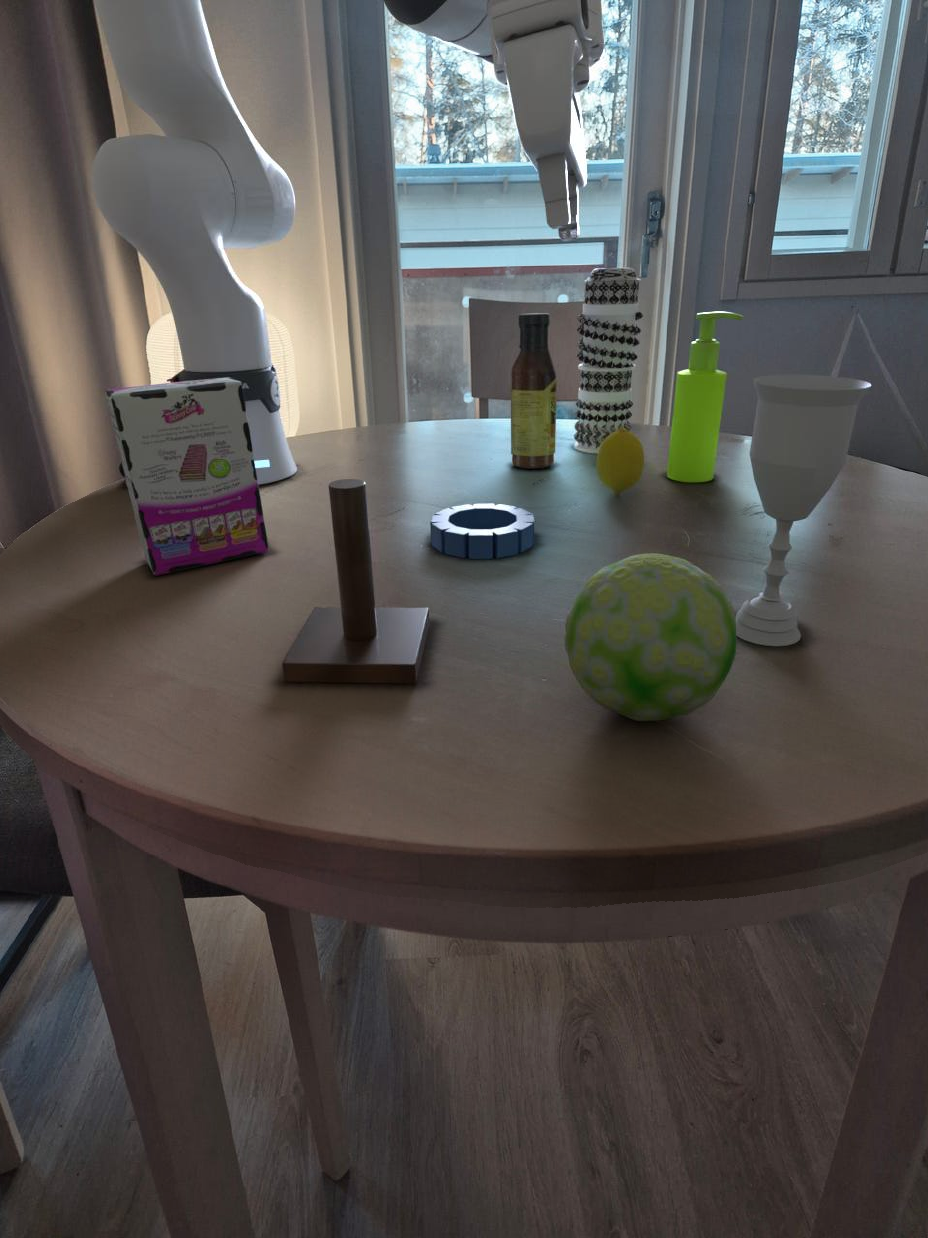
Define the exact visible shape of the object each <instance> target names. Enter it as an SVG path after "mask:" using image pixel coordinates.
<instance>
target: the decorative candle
mask: <svg viewBox="0 0 928 1238" xmlns="http://www.w3.org/2000/svg"><path fill="white" fill-rule="evenodd" d="M640 281H641V278H639V277H638V275H637V273H636V271H635V269H634V268H632V267H597V268H594V269H593V270H592V271H591V272H590V274H589V276H588V277H587V279H585V280H584V287H585V288H584V295H583V297H584V301H583V303H582V312H580V313H579V314H578V316H577V321H578V322H579V323H580V325H579V326H578V327H577V328H576V331H577V332H578V334H579V335H580V336H581V339H579V340H578V342H577V345H576V346H577V347H578V349H579V352H578V353H577V354H576V357H577V359H578V361H580V362H581V363H579V364H578V366H577V369H578V370H580V379H579V383H580V385H579V388H578V392H577V393H578V395H577V396H578V397H577V398H578V399H577V401H575V406H576V407H577V408H579V409H578V410H577V411H576V412H575V417H576V418H578V420H577V421H576V422H575V423H574V430H575V431H576V432H575V433H574V435H573V439H574V440H575V441H576V442H575V443H574V445H573V448H574V449H575V450H576V451H579V452H582V453H589V454H598V452H599V449H600V446H601V444H602V442H603V441H604V439H605V438H606V437H607V436H609V435H610V434H611V433H614V432H616V431H618V430H619V429H620V428H626V430H627V431H628V432H630V431H631V429H632V424H631V423H630V422H629V419H630V418H631V417H633V413H632V412H631V411H630V410H629V409H631V408H632V407H633V406H634V402H633V401H632V400H631V399H632V390H633V388H631V387H632V375H633V370H635V369H636V363H635V364H634V363H633V362H634V361H636V360H637V359H638V357H639V356H638V354H636V353H635V352H634V348H635V347H636V346H638V345H640V343H641V341H640V340H639V339H638V338H637V337H636V336H637V335H639V334H640V333H641V331H642V329H641V327H639V326H638V324H636V322H637V321H640V319H642V318H643V317H644V314H643V313H642V312H641V311H639V302H638V301H639V288H640V287H639V285H640Z"/></svg>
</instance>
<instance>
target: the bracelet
mask: <svg viewBox="0 0 928 1238" xmlns="http://www.w3.org/2000/svg"><path fill="white" fill-rule="evenodd" d="M495 504H496V503H473V505H472V504H470V503H468V504H461V505H455V506H450V508H449V507H446V508H444V509H442V510H439V511H437V512H435V513H434V514H433V515H431V519H430V524H429V525H430V526H429V527H430V544H431V547H433V548H435V550H437V551H439V552H440V553H441V554H443V553H444V554H445V555H448V556H452V557H456V558H462V559H465V558H467V557H468V559H469V560H493V559H494V557H495V558H496V559H501V558H506V557H507V558H508V557H512V556H516V555H518V554H522V553H524V552H526V551H527V550H528V549H531V548H532V547H533V545H534V544H535V516H534V514H533V513H532V512H529V511H527V510H526V509H524V508H522V507H519V508H518V506H513V505H508V504H502V503H498V504H496V505H495Z"/></svg>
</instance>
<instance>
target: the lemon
mask: <svg viewBox="0 0 928 1238" xmlns="http://www.w3.org/2000/svg"><path fill="white" fill-rule="evenodd" d="M644 465H645V453H644V448H643V444H642V442H641V440H640V438H639V437H637V436H636V435H635V434H634V433H632V432H630V431H629V432H628V431H627V430H626V428H620V429H619V430H618V431H616V432H614V433H611V434H610V435H609V436H607V437H606V438H605V439H604V441H603V442H602V444H601V446H600V449H599V452H598V453H597V457H596V471H597V475H598V478H599V481H601V483H602V484H603V485H604V486H605V487H607V488H608V489H611V491H612V492H613V493H614V494H615V495H620V494H622V493H623V492H624V491H625V490H627V489H630V488H631V487H633V486H634V485H635V484H637V482H638V481H639V479H640V478H641V476H642V473H643V469H644Z"/></svg>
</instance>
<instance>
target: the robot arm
mask: <svg viewBox="0 0 928 1238" xmlns="http://www.w3.org/2000/svg"><path fill="white" fill-rule="evenodd" d="M93 1H94V3H95V7H96V11H97V14H98V18H99V21H100V24H101V28H102V31H103V34H104V38H105V41H106V44H107V49H108V51H109V54H110V57H111V62H112V63H113V68H114V70H115V75H116V78H117V80H118V82H119V84H120V86H121V88H122V89H123V91H124V93H125V94H126V95H127V96H128V98H129V99H130V100H131V101H132V102H133V103H134V104H135V105H136V106H137V107H139V108H140V110H142V111H144V112H145V113H146V114H147V115H148V116H149V117H150V118H151V119H152V120H153V121H154V122H155V124H156V125H157V126H158V127H159V129H160V130H161V131H162V132H163V134H164V135H160V134H159V135H158V134H152V133H144V134H143V133H142V134H135V135H134V134H133V135H126V136H125V135H124V136H119V137H118V136H117V137H113V138H109V139H107V140H106V141H105V142H103V143H102V144H101V145H100V147H99V149H98V151H97V153H96V154H95V157H94V160H93V164H92V168H91V169H92V170H91V184H92V191H93V194H94V199H95V202H96V204H97V207H98V209H99V211H100V214H102V216H103V218H104V220H105V221H106V222H107V224H108V225H109V227H111V229H112V230H113V231H114V232H115V233H117V234H118V235H119V236H120V237H122V238H123V239H124V240H126V241H127V242H128V243H129V244H130V245H132V247H133V248H134V249H135V250H136V251H138V253H139V254H140V255H141V256H142V258H143V259H144V261H145V262H146V263H147V265H149V267H150V269H151V270H152V272H153V273H154V275H155V277H156V278H157V280H158V282H159V284H160V286H161V288H162V289H163V292H164V294H165V297H166V299H167V301H168V304H169V308H170V310H171V315H172V317H173V321H174V322H173V323H174V326H175V330H176V331H175V332H176V334H177V340H178V344H179V350H180V354H181V358H182V364H183V369H182V370H181V371H179V372H178V373H176V374H174V375H173V376H172V377H170V378H168V379H166V382H169V383H173V382H183V381H193V380H204V379H216V378H227V377H231V378H232V379H235V380H237V381H240V382H242V388H243V393H244V399H245V406H246V413H247V418H248V424H249V429H250V436H251V442H252V449H253V455H254V462H255V468H256V474H257V479H258V485H259V486H260V485H264V484H269V483H273V482H277V481H281V480H284V479H286V478H289V477H292V476H293V475H294V474H296V473H297V471H298V467H297V464H296V462H295V460H294V458H293V455H292V453H291V450H290V446H289V444H288V440H287V436H286V434H285V430H284V429H285V428H284V425H283V421H282V417H281V413H280V408H281V392H280V391H281V390H280V383H279V379H278V375H277V370H276V369H277V368H276V366H275V365H274V364H273V363H272V362H273V361H272V356H271V348H270V341H269V332H268V325H267V317H266V309H265V306H264V304H263V301H262V299H261V298H260V297H259V296H258V294H257V293H256V292H255V291H253V290H252V289H250V288H249V287H248V286H246V285H244V284H243V282H241V280H240V279H239V277H238V276H237V275H236V273H235V271H234V270H233V268H232V265H231V263H230V262H229V259H228V256H227V253H226V250H225V249H234V250H235V249H237V250H253V249H257V248H261V247H264V246H267V245H272V244H274V243H276V242H280V241H281V240H282V239H284V238H285V237H286V236H287V235H288V234H289V232H290V230H291V228H292V227H293V224H294V220H295V214H296V213H295V212H296V199H295V198H296V197H295V192H294V188H293V186H292V182H291V180H290V178H289V176H288V175H287V173H286V172H285V170H284V169H283V167H281V165H279V164H278V163H277V162H276V161H275V160H274V159H273V158H272V157H271V156H270V155H269V154H268V153H267V151H265V149H264V148H263V147H262V146H261V144H260V143H259V142H258V140H257V139H256V137H255V135H254V134H253V132H252V131H251V130H250V128H249V126H248V124H247V122H246V120H244V117H243V116H242V114H241V112H240V111H239V108H238V107H237V105H236V103H235V101H234V99H233V97H232V94H231V93H230V91H229V89H228V86H227V85H226V82H225V79H224V77H223V75H222V72H221V69H220V66H219V63H218V60H217V56H216V53H215V48H214V46H213V45H214V44H213V43H212V39H211V35H210V32H209V28H208V24H207V21H206V17H205V14H204V10H203V6H202V1H201V0H93ZM383 3H384V5H385V7H386V9H387V11H388V12H389V13H390V15H391V16H392V17H393V18H394V19H395V20H397V21H398V22H399V23H401V24H404V25H405V26H407V27H408V28H410V29H412V30H415V31H416V32H419V33H421V34H424V35H425V36H428V37H431V38H433V39H436V40H438V41H440V42H443V43H445V44H447V45H450V46H453V47H456V48H459V49H461V50H463V51H466V52H469V53H471V54H472V55H474V56H476V57H477V58H478V59H481V60H482V61H484V62H486V63H488V64H490V65H492V66H493V71H494V77H495V79H496V80H497V82H498V83H500V84H502V85H505V86H508V92H509V97H510V102H511V107H512V112H513V118H514V123H515V127H516V131H517V136H518V138H519V143H520V145H521V149H522V151H523V152H524V154H525V155H526V157H527V158H528V160H529V161H530V163H531V164H532V166H533V168H534V169H535V171H536V172H537V174H538V179H539V184H540V187H541V192H542V198H543V201H544V207H545V209H544V210H545V218H546V219H545V220H546V224H547V225H548V227H549V228H551V229H552V230H556V229H557V231H558V237H559V238H560V240H561V241H562V242H569V241H573V240H577V239H578V238H579V236H580V225H579V201H580V200H579V199H580V198H579V197H580V196H579V189H582V188H585V186H586V185H587V182H588V181H587V180H588V179H587V178H588V174H587V172H588V170H587V159H586V158H587V157H586V149H585V137H584V125H583V116H582V107H581V100H580V95H579V93H580V92H582V91H584V90H585V89H586V88H587V87H588V86H589V85H590V84H591V80H592V79H591V70H590V69H591V68H592V67H594V66H595V65H596V64H597V63H599V61H600V60H601V59H602V58H603V56H604V54H605V37H604V36H605V35H604V25H603V24H604V23H603V8H602V0H383ZM118 471H119V473H120V475H121V476H122V477H123V478H124V479H126V478H125V473H124V469H123V465H122V461H121V462H120V463H119V466H118ZM125 485H126V487H127V488H128V486H127V482H126V481H125Z"/></svg>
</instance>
